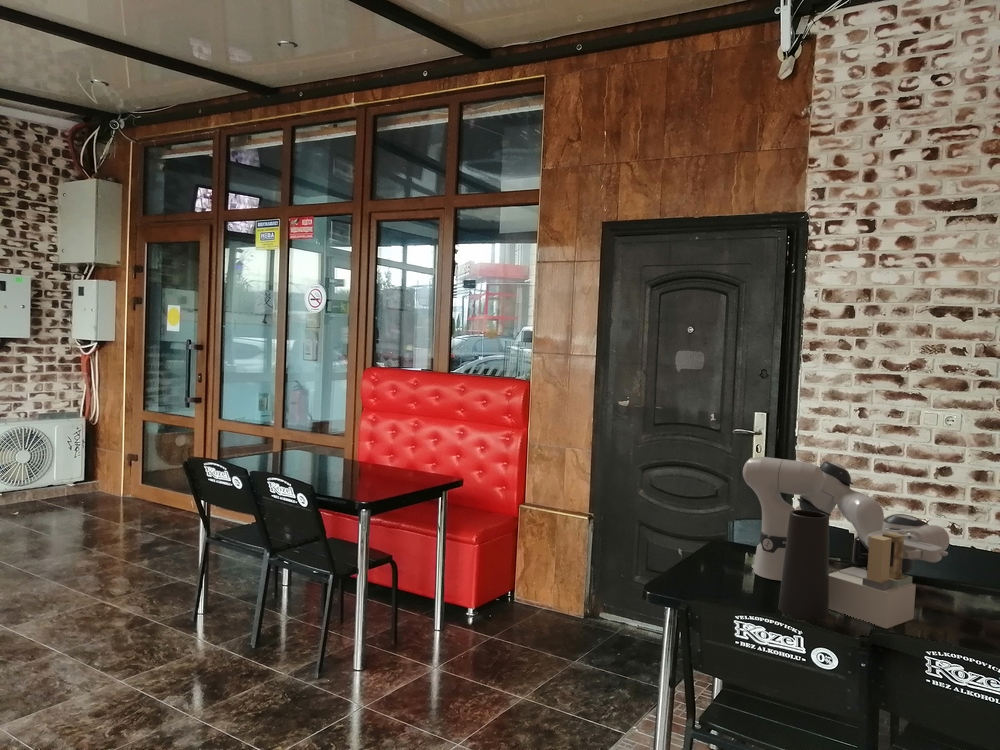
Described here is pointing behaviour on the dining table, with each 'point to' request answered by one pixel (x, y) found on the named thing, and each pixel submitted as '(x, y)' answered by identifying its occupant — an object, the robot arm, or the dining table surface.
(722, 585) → the dining table surface
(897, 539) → the block
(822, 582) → the vase
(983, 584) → the dining table surface
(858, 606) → the grey boxy piece
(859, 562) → the supplement bottle
